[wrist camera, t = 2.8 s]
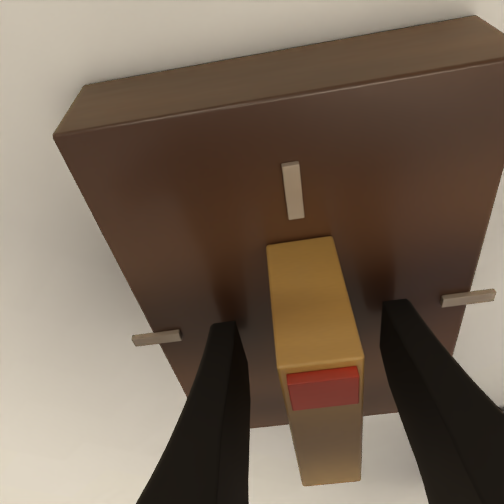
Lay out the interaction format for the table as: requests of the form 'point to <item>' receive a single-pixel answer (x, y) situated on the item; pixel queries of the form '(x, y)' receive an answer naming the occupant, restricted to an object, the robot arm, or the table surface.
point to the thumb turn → (317, 359)
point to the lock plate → (298, 186)
